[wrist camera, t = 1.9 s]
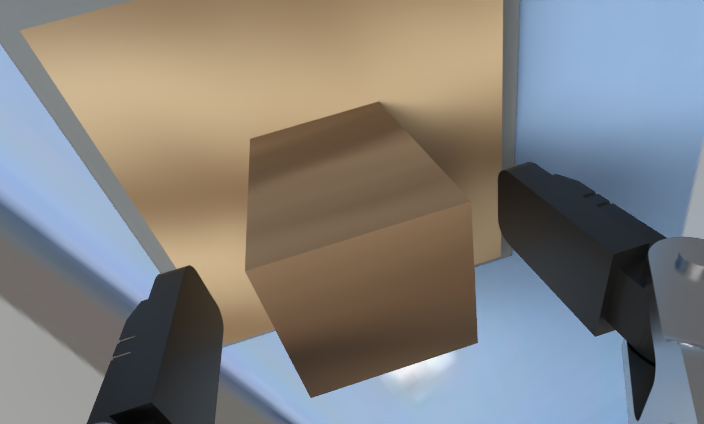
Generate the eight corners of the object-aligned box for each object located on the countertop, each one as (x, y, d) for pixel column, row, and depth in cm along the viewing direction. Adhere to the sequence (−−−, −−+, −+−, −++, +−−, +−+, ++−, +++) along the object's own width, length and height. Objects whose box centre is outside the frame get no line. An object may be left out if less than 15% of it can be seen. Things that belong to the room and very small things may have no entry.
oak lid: (36, 26, 9) (-285, 108, 4) (487, -94, 10) (776, -174, 4) (227, 329, 16) (211, 519, 11) (491, 245, 17) (608, 382, 11)
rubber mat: (-26, -10, 9) (-37, -9, 9) (515, -150, 10) (524, -154, 10) (215, 342, 17) (214, 350, 17) (506, 249, 18) (511, 255, 17)
